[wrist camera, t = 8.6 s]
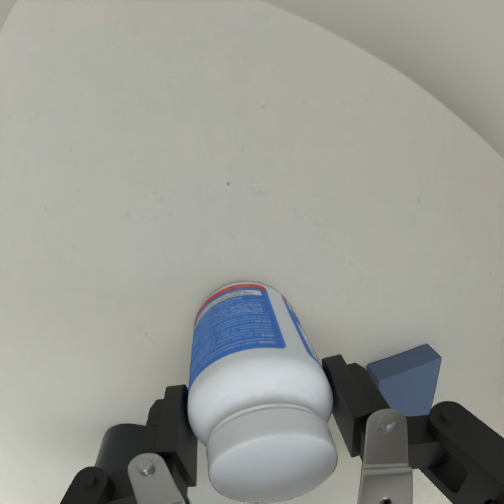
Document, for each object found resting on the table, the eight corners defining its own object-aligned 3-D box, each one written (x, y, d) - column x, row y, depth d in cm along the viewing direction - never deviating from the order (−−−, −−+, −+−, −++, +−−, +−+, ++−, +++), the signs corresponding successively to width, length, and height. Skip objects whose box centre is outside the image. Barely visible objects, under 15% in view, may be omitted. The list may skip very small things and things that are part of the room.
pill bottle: (179, 344, 17) (155, 492, 8) (222, 261, 16) (227, 390, 7) (265, 377, 18) (296, 518, 9) (313, 304, 17) (392, 433, 8)
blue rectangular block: (367, 364, 20) (379, 381, 18) (427, 343, 20) (441, 357, 18) (363, 442, 23) (371, 458, 21) (414, 423, 23) (423, 437, 21)
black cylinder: (181, 432, 20) (175, 498, 14) (176, 474, 22) (173, 531, 16) (100, 416, 19) (79, 477, 13) (107, 461, 21) (93, 515, 15)
